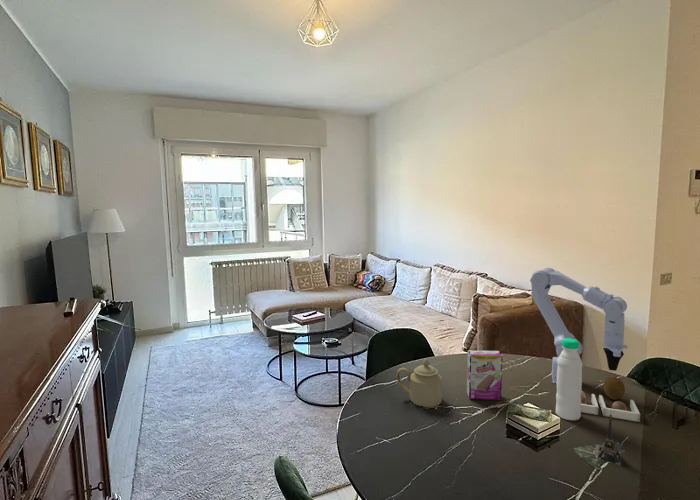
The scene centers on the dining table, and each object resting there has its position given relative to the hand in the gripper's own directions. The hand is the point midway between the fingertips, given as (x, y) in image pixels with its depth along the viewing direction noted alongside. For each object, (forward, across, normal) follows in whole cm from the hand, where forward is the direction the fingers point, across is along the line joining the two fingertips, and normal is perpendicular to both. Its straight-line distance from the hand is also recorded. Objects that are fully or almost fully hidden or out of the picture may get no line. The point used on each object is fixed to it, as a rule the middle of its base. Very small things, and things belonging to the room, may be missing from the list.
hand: (612, 369), depth 141 cm
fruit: (+9, -4, 0) cm, 10 cm away
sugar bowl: (+9, -30, +61) cm, 69 cm away
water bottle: (+9, -22, +15) cm, 29 cm away
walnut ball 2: (+9, -15, 0) cm, 17 cm away
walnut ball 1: (+9, -15, +11) cm, 21 cm away
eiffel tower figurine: (+10, -42, +7) cm, 43 cm away
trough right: (+9, -14, 0) cm, 16 cm away
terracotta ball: (+9, -10, +11) cm, 18 cm away
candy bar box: (+9, -20, +41) cm, 46 cm away
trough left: (+9, -14, +11) cm, 20 cm away
